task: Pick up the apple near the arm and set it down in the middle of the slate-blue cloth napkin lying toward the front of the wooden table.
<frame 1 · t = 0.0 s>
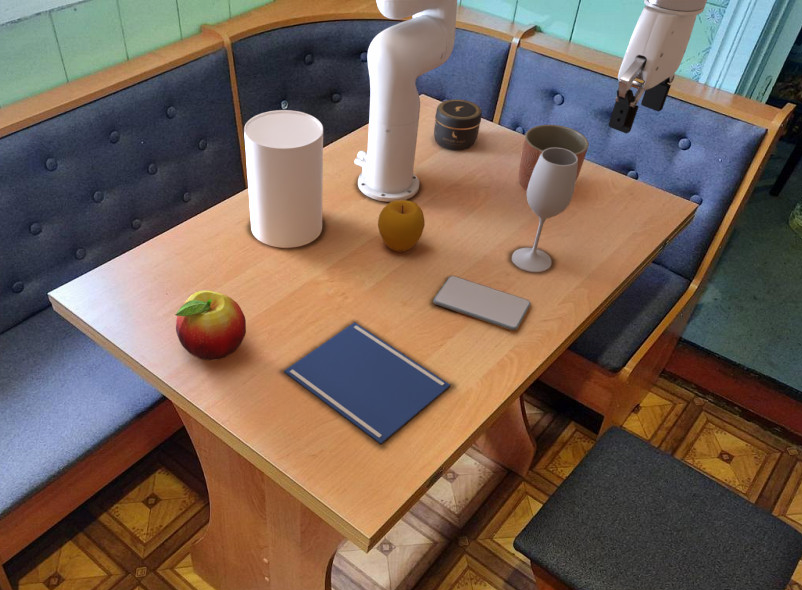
hand: (635, 118, 106), 31 cm above the table, tool pointing down, fingers open, 9 cm apart
wineglass: (531, 261, 134), on the table
jar: (454, 142, 164), on the table
smartphone: (481, 305, 124), on the table
planter: (543, 188, 151), on the table
fruit: (213, 347, 116), on the table
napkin: (366, 379, 111), on the table
canister: (286, 227, 139), on the table
apple: (399, 246, 136), on the table
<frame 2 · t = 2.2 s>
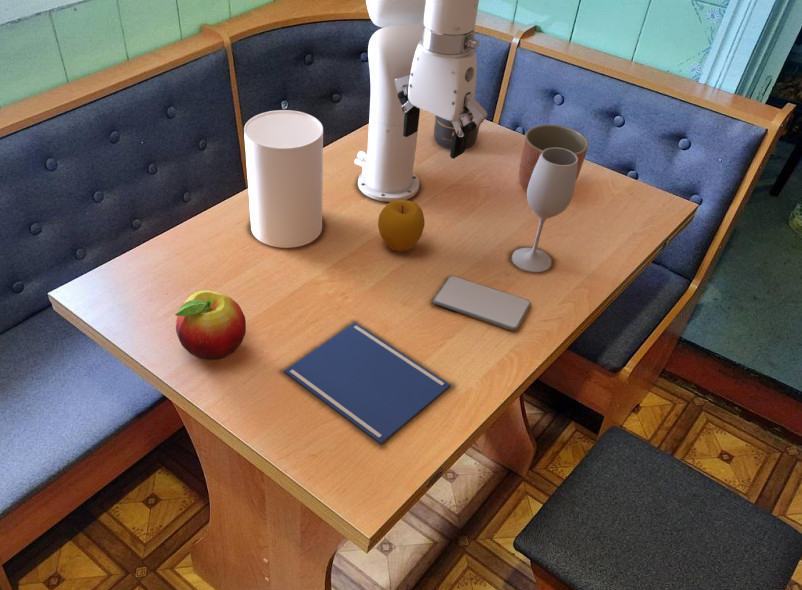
hand: (433, 144, 120), 21 cm above the table, tool pointing down, fingers open, 9 cm apart
nothing on the table moved.
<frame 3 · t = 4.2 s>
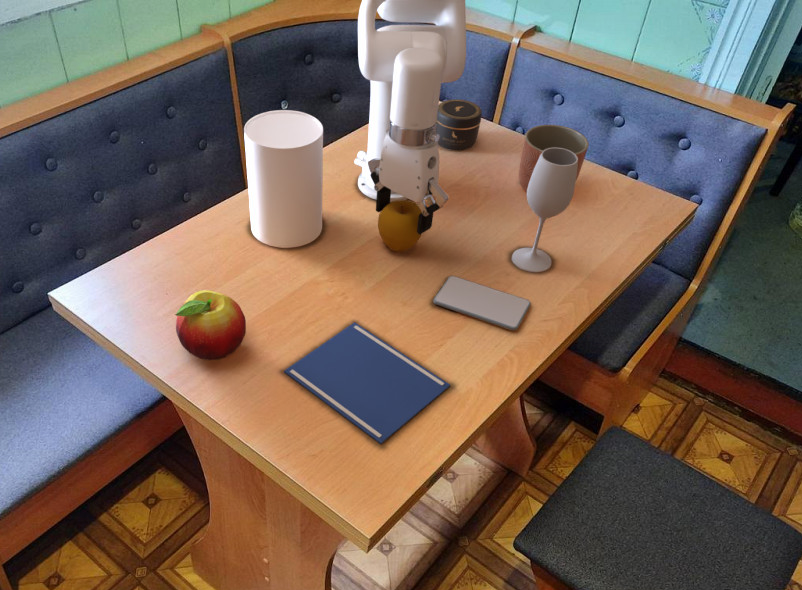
hand: (402, 219, 131), 6 cm above the table, tool pointing down, fingers open, 9 cm apart
apple: (399, 246, 136), on the table, touching gripper
everything else where it was.
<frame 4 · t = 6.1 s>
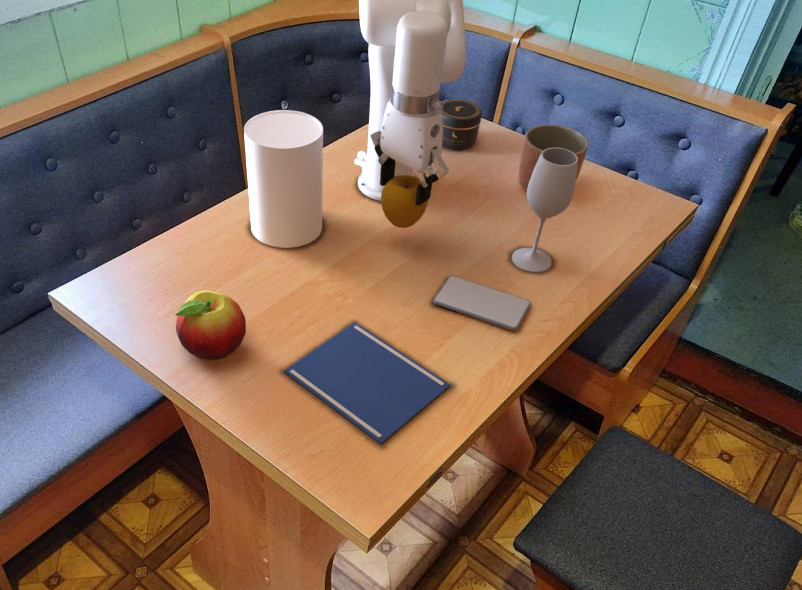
hand: (404, 191, 128), 11 cm above the table, tool pointing down, fingers closed on apple, 7 cm apart
apple: (402, 222, 133), point 4 cm above the table, touching gripper
everything else where it was.
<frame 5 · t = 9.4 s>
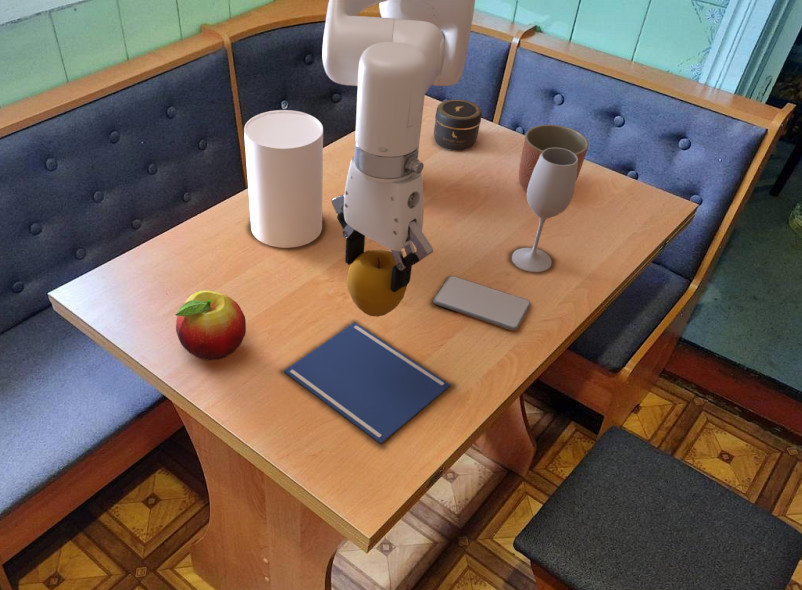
hand: (376, 272, 99), 19 cm above the table, tool pointing down, fingers closed on apple, 7 cm apart
apple: (375, 308, 104), point 12 cm above the table, touching gripper
everything else where it was.
when the fingers open (7 cm above the table, at t = 12.7 s): apple stays where it is, resting on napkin.
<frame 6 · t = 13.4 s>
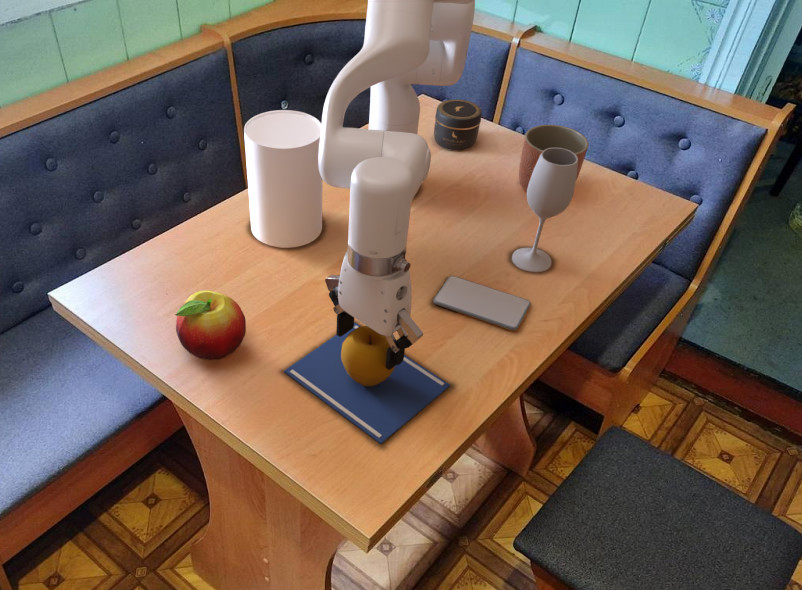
hand: (369, 347, 107), 7 cm above the table, tool pointing down, fingers open, 9 cm apart
apple: (368, 377, 111), resting on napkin
everything else where it was.
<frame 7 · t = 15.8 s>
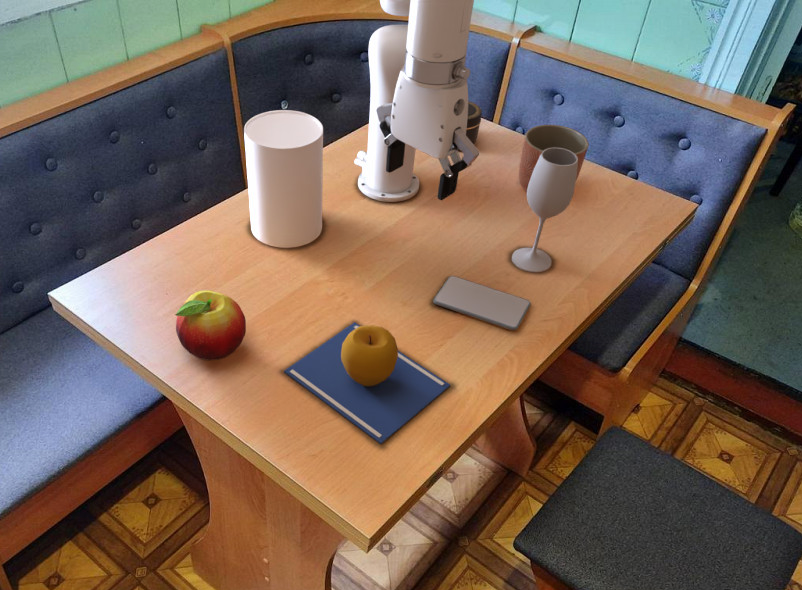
hand: (419, 182, 105), 25 cm above the table, tool pointing down, fingers open, 9 cm apart
nothing on the table moved.
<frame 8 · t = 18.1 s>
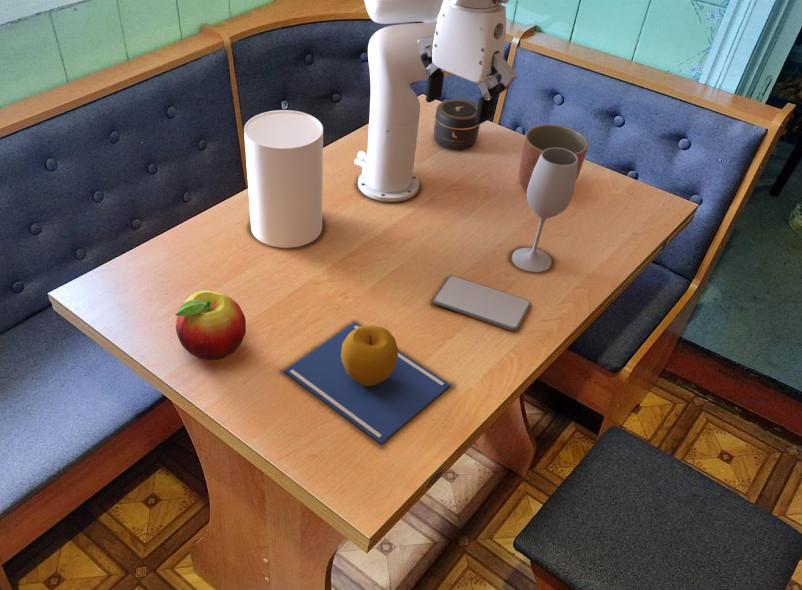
hand: (457, 110, 113), 28 cm above the table, tool pointing down, fingers open, 9 cm apart
nothing on the table moved.
at the end: apple inside the target area on the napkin (0.3 cm from its centre), point 0.2 cm above the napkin's base; apple tilted 0°; the gripper is holding nothing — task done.
